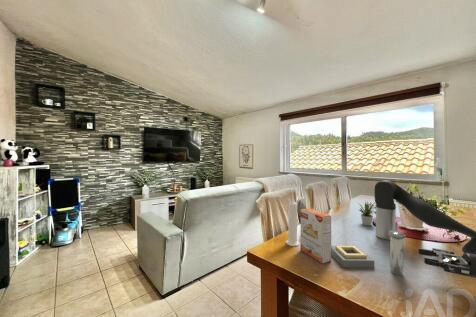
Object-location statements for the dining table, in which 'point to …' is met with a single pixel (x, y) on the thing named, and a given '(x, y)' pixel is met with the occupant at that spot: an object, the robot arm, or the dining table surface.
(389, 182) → the robot arm
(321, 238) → the cracker box
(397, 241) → the shaft
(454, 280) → the dining table surface
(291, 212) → the candle
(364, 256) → the grey square socket base
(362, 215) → the house plant
